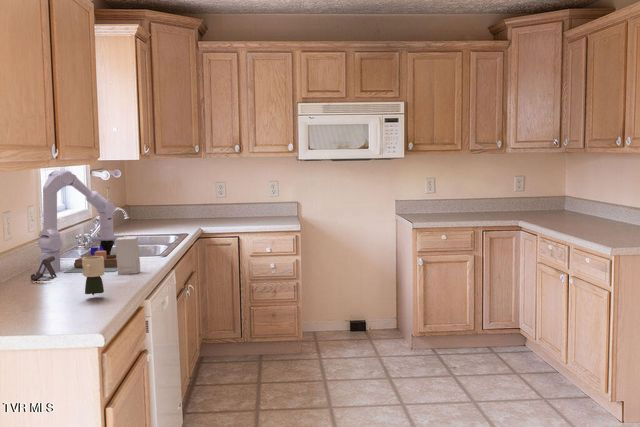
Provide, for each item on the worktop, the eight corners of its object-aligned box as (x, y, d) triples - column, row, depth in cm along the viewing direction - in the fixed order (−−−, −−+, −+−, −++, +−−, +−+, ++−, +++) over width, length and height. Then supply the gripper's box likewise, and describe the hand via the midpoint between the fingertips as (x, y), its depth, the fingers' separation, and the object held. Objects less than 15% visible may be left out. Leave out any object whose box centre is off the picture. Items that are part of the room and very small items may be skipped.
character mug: (90, 291, 218) (88, 255, 217) (110, 290, 218) (108, 254, 217) (78, 297, 208) (76, 260, 206) (99, 297, 207) (97, 259, 206)
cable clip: (98, 256, 301) (98, 244, 301) (107, 256, 301) (106, 244, 300) (87, 260, 289) (87, 247, 289) (97, 260, 289) (96, 247, 288)
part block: (104, 263, 270) (103, 252, 269) (94, 263, 270) (94, 252, 269) (106, 261, 274) (106, 250, 273) (97, 261, 274) (97, 250, 273)
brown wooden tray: (119, 267, 265) (119, 259, 265) (72, 268, 264) (72, 260, 264) (128, 261, 279) (127, 254, 279) (83, 262, 278) (83, 255, 278)
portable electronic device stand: (39, 276, 249) (37, 256, 248) (58, 276, 249) (57, 255, 248) (30, 280, 240) (29, 259, 239) (51, 280, 240) (50, 259, 240)
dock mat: (114, 271, 256) (114, 271, 256) (64, 272, 255) (64, 272, 255) (125, 265, 272) (125, 264, 272) (77, 266, 271) (77, 265, 271)
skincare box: (140, 271, 257) (139, 236, 256) (136, 274, 251) (135, 238, 250) (120, 271, 257) (119, 236, 255) (116, 274, 251) (114, 238, 249)
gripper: (125, 226, 285) (126, 255, 286) (93, 227, 284) (94, 255, 286) (120, 228, 278) (122, 257, 279) (88, 228, 277) (89, 258, 279)
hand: (107, 257), depth 282 cm, fingers closed
